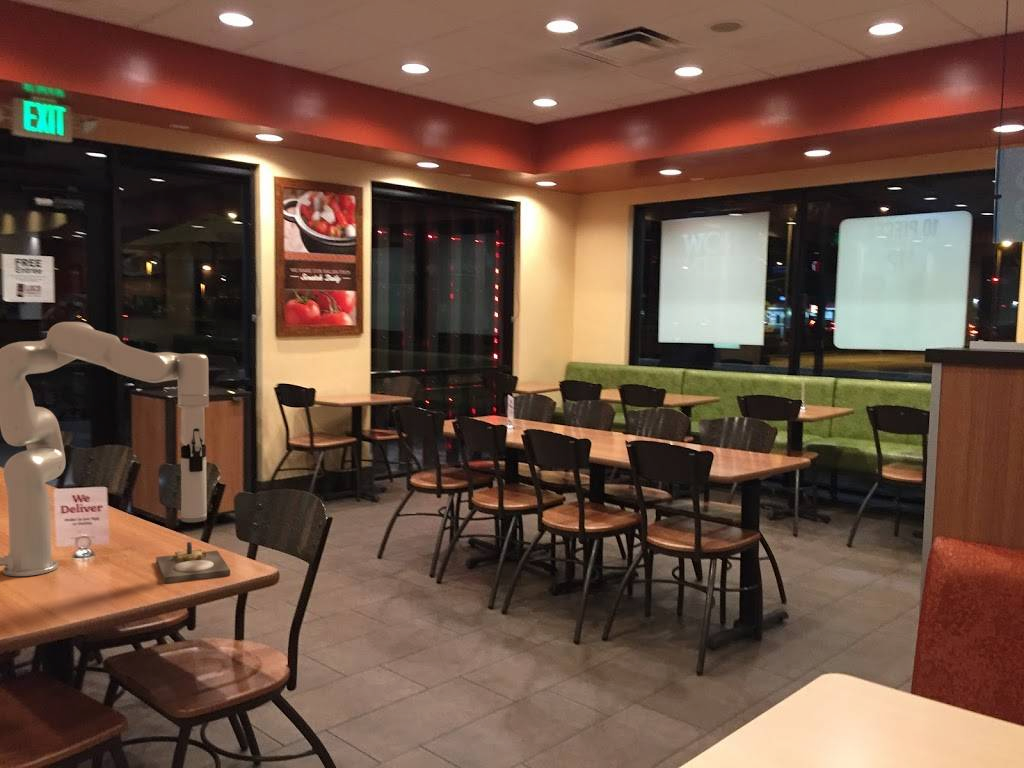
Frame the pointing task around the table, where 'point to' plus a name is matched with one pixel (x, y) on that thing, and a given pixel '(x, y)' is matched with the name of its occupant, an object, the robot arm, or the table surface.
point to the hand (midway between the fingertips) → (193, 468)
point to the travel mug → (193, 489)
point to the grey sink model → (191, 565)
